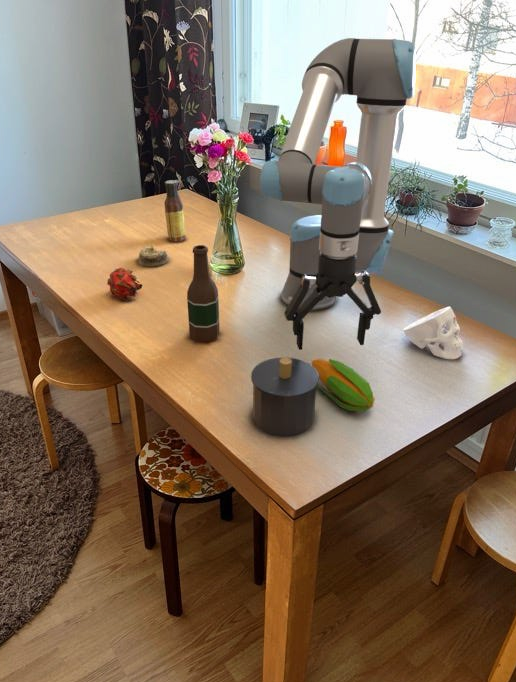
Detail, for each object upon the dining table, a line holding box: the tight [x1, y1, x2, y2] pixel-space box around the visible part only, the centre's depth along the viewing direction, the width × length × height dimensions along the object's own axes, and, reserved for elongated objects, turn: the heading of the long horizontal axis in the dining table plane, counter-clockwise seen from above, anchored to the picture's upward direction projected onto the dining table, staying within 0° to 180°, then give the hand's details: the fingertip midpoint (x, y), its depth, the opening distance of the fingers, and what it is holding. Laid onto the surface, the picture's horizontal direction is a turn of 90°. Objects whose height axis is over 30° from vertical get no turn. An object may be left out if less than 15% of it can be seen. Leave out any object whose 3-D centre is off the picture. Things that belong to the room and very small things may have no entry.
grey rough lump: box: [137, 245, 170, 268], centre depth 188 cm, size 10×10×5 cm
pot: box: [252, 384, 317, 437], centre depth 121 cm, size 13×13×10 cm
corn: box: [311, 358, 375, 413], centre depth 128 cm, size 7×8×20 cm
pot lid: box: [250, 357, 320, 398], centre depth 117 cm, size 14×14×5 cm
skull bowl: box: [403, 306, 464, 360], centre depth 145 cm, size 10×14×12 cm
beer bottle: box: [186, 244, 220, 344], centre depth 144 cm, size 8×8×24 cm
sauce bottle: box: [164, 179, 187, 243], centre depth 200 cm, size 7×6×20 cm
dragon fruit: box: [106, 267, 143, 301], centre depth 167 cm, size 8×8×12 cm
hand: (329, 344), depth 128 cm, fingers open, 13 cm apart
